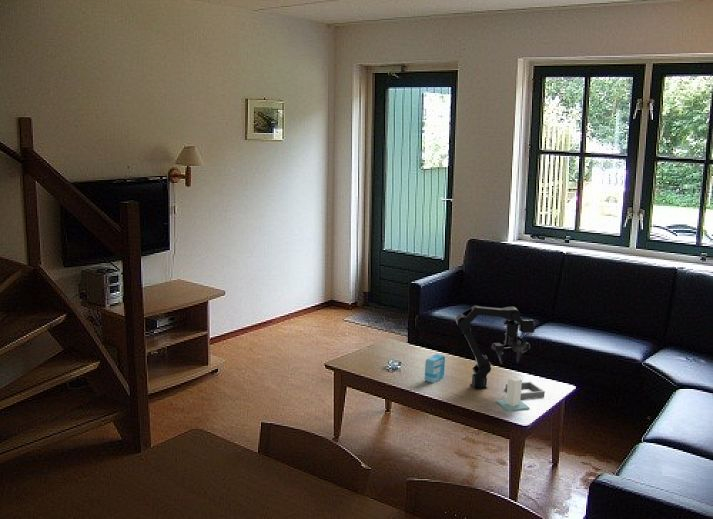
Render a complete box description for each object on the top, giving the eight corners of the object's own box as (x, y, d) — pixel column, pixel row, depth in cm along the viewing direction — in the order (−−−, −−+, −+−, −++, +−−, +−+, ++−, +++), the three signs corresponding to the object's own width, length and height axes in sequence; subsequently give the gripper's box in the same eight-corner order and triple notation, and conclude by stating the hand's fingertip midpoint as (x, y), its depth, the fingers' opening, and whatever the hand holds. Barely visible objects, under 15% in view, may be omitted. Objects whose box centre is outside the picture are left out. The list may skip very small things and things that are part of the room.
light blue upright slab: (431, 383, 350) (433, 361, 348) (424, 381, 353) (425, 359, 351) (444, 377, 360) (445, 355, 357) (436, 375, 362) (437, 353, 360)
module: (506, 403, 327) (508, 378, 325) (512, 401, 330) (515, 376, 327) (512, 406, 324) (515, 381, 321) (519, 404, 326) (522, 379, 323)
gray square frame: (518, 398, 335) (519, 394, 334) (505, 388, 347) (505, 384, 347) (544, 396, 339) (544, 391, 339) (530, 386, 351) (530, 381, 351)
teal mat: (508, 411, 320) (508, 409, 320) (496, 402, 330) (496, 400, 330) (529, 409, 323) (529, 407, 323) (517, 400, 334) (517, 398, 333)
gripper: (502, 338, 333) (500, 369, 336) (537, 336, 338) (534, 366, 342) (491, 332, 343) (489, 362, 347) (525, 329, 349) (522, 359, 352)
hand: (509, 362), depth 346 cm, fingers open, 9 cm apart
